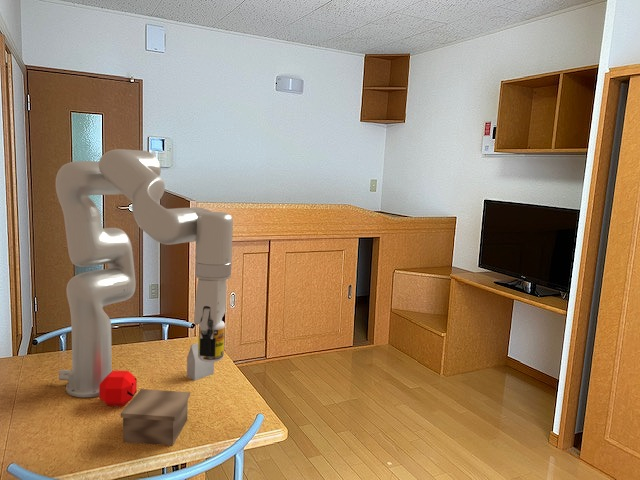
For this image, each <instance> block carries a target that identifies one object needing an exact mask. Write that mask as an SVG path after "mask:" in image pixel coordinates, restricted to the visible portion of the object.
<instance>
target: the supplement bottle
mask: <svg viewBox="0 0 640 480" xmlns="http://www.w3.org/2000/svg"><path fill="white" fill-rule="evenodd" d="M221 320H222V321H221ZM221 320H220V322H219V323H218V324H217V325H216V326H215V334H214V338H216V345H215V356H214V357H210V356H200V334H201V330H200V327H201V322H202V321H201V322H200V323H199V324H198V342H197V343H198V358H199V359H200V360H201V361H204V362H214V363H216V362H219V361H221V360H222V359H223V358H224V355H225V354H224V352H225V331H226V330H225V329H226V324H225V322H224V321H223V317H222V318H221ZM212 323H213V321H209V324H212ZM208 329H210V331H211V329H212V327H208Z"/></svg>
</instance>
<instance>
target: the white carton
mask: <svg viewBox="0 0 640 480" xmlns="http://www.w3.org/2000/svg"><path fill="white" fill-rule="evenodd" d="M214 371H215V362H204V361H201V360H200V359H199V358H198V342H197V343H193V344H191V345H190V348H189V351H188V353H187V356H186V377H187V378H189V379H191V380H192V381H197V380H200V379H203V378H206V377H208V376H212V375H214V373H215V372H214Z"/></svg>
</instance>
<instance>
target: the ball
mask: <svg viewBox="0 0 640 480" xmlns="http://www.w3.org/2000/svg"><path fill="white" fill-rule="evenodd" d="M137 382H138V380H137V377H135V375H134V374H132V373H131V372H130V371H129V370H112V372H111V373H110V374H109V375H107V376H106V377H105V378H104V379H103V381H102V382H101V383H100V385H99V396H98V397H99V399H100V400H101V401H102V402H103V403H104V404H105V405H106V406H108V407H124V406H125V407H126V406H127V405H128V404H129V403H130V401H131V400H132V399H133V398H134V397H135V396H136V394H137V393H138V392H137V389H138V388H137V387H138V385H137V384H138V383H137Z"/></svg>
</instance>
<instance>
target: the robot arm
mask: <svg viewBox="0 0 640 480" xmlns="http://www.w3.org/2000/svg"><path fill="white" fill-rule="evenodd" d="M165 188H166V186H165V182H164V180H163V178H162V177H161V165H160V161H159V159H158V157H156V155H155V154H153V153H152V152H150V151H147V150H141V149H137V150H136V149H124V148H115V149H110V150H109V151H106V152H104V153H103V154H102V156H101V157H100V159H99V161H94V160H76V161H71V162H67V163H65V164H63V165H62V166H60V168H59V169H58V171H57V174H56V176H55V192H56V195H57V198H58V199H57V200H58V202H59V205H60V207H61V209H62V214H63V219H64V227H65V235H66V243H67V244H66V245H67V250H68V256H69V259H70V261H71V263H72V265H74V266H76V267H80V268H87V267H95V266H101V265H107V268H105V269H96V270H91V271H85V272H81V273H79V274H76V275H75V276H73V277H71V278H70V279H69V281H68V282H67V284H66V289H65V290H66V298H67V303H68V306H69V312H70V322H71V325H70V326H71V365H72V368H71V370H70V369H62V368H61V369H60V370H59V371H58V380H59V381H67V382H68V383H66V385H65V391H66V393H67V394H68V395H70V396H73V397H76V398H95V397H99V385H100V383H101V382H102V381H103V379H104V378H105V377H106V376H107V375H109V374H110V373H111V372H112V371H113V370H112V369H113V368H112V362H113V361H112V322H111V318H110V317H109V316H108V314H107V313H106V312H105V311H104V307H106V306H109V305H112V304H116V303H117V304H118V303H121V302H124V301H125V302H126V301H127V300H129V299H131V298H132V297H133V296H134V295H135V294H134V293H135V291H136V282H137V281H136V271H135V263H134V262H135V261H134V253H133V245H132V242H131V239H130V237H129V235H128V234H127V233H126V232H125V231H124V230H123V229H121V228H118V227H105V228H103V226H102V218H101V212H100V210H99V208H98V206H97V205H96V203H95V202H94V200H92V199H91V198H90V197H89V196H104V195H105V196H107V195H110V196H111V195H112V196H113V195H115V196H116V195H124V196H125V197H126V198H127V199H128V200H129V201H130V202H132V203H131V210H132V214H133V218H134V219H135V222H136V224H137V226H138V227H139V228H140V229H141V230H142V231H143V232H144V233H145V234H147V235H148V236H149V237H150V238H152V239H153V240H154V241H156V242H158V243H160V244H162V245H167V246H169V245H178V244H182V243H183V244H185V243H192V242H195V271H194V272H195V274H194V275H195V279H196V278H197V284H196V285H197V286H196V290H195V291H196V292H195V301H194V303H195V304H194V316H193V317H194V318H193V319H194V321H193V322H194V324H195V325H198V326H199V323H200V322H201V321H202V322H201V327H200V330H201V334H200V356H210V357H214V356H215V345H216V338H214V334H215V326H216V325H217V324H218V323H219V322H220V320H221V318H222V320H221V321H223V317H224V316H225V314H226V309H227V308H226V307H227V284H228V282H227V280H228V279H229V280H230V279H231V277H232V261H233V260H232V259H233V233H234V232H233V230H234V219H233V217H232V215H231V214H229V213H227V212H222V211H211V210H209V209H206V208H203V207H195V206H194V207H177V208H176V207H175V208H166V207H164V206H163V205H161V204H160V203H158V202H159V201H161V199H162V197H163V195H164V193H165V190H166V189H165ZM209 321H213V323H212V324H209ZM208 327H212V329H211V331H210V329H208Z"/></svg>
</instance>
